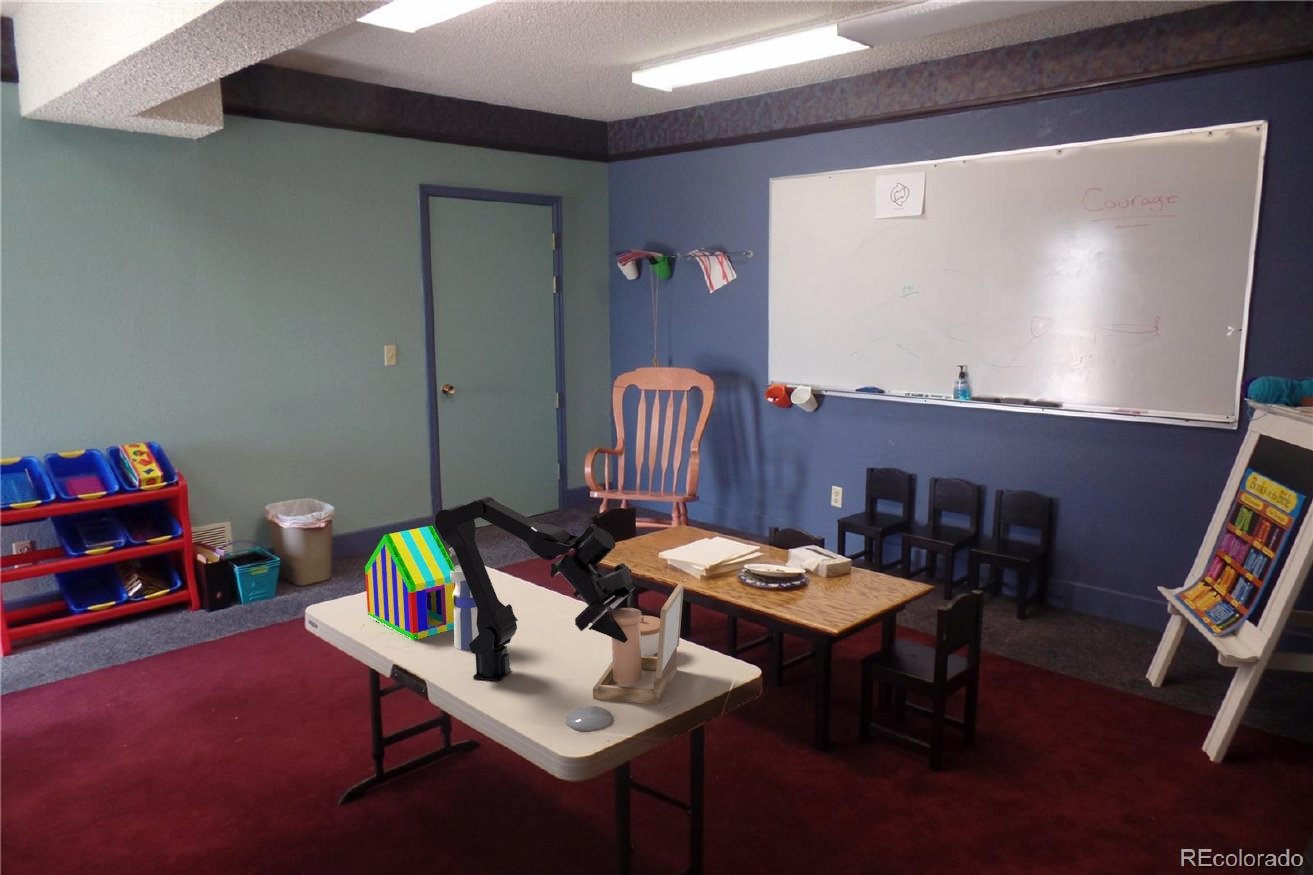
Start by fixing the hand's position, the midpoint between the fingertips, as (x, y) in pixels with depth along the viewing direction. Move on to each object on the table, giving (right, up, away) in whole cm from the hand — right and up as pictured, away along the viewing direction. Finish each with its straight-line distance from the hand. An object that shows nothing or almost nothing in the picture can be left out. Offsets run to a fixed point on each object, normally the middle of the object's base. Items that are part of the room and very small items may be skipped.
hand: (632, 635), depth 180 cm
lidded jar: (+2, -10, +25) cm, 27 cm away
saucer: (-8, -15, -9) cm, 19 cm away
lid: (+7, -7, +6) cm, 11 cm away
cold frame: (+1, -12, +8) cm, 15 cm away
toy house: (-59, -8, +50) cm, 77 cm away
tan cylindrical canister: (-1, -9, +2) cm, 9 cm away
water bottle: (-41, -10, +33) cm, 53 cm away
